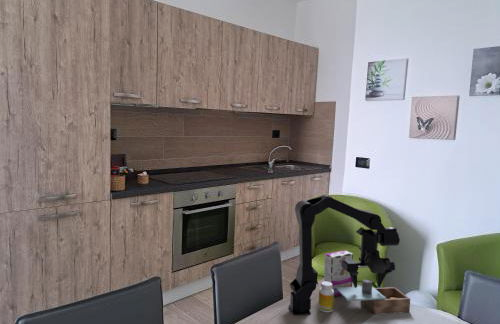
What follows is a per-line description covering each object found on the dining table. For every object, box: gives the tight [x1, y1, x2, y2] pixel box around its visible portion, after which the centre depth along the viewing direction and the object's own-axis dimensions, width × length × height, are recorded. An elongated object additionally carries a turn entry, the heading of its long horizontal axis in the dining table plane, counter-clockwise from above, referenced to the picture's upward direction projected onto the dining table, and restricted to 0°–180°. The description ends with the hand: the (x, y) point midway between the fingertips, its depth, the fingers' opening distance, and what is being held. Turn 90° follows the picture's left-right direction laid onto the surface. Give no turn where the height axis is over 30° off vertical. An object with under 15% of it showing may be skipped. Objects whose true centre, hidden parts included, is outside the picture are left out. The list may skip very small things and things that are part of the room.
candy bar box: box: [323, 250, 354, 298], centre depth 142 cm, size 11×5×16 cm, turn 117°
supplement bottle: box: [317, 280, 335, 313], centre depth 128 cm, size 5×5×10 cm
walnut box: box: [360, 286, 411, 315], centre depth 131 cm, size 14×10×5 cm
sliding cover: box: [337, 279, 386, 302], centre depth 129 cm, size 14×10×5 cm
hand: (367, 287), depth 130 cm, fingers open, 9 cm apart
